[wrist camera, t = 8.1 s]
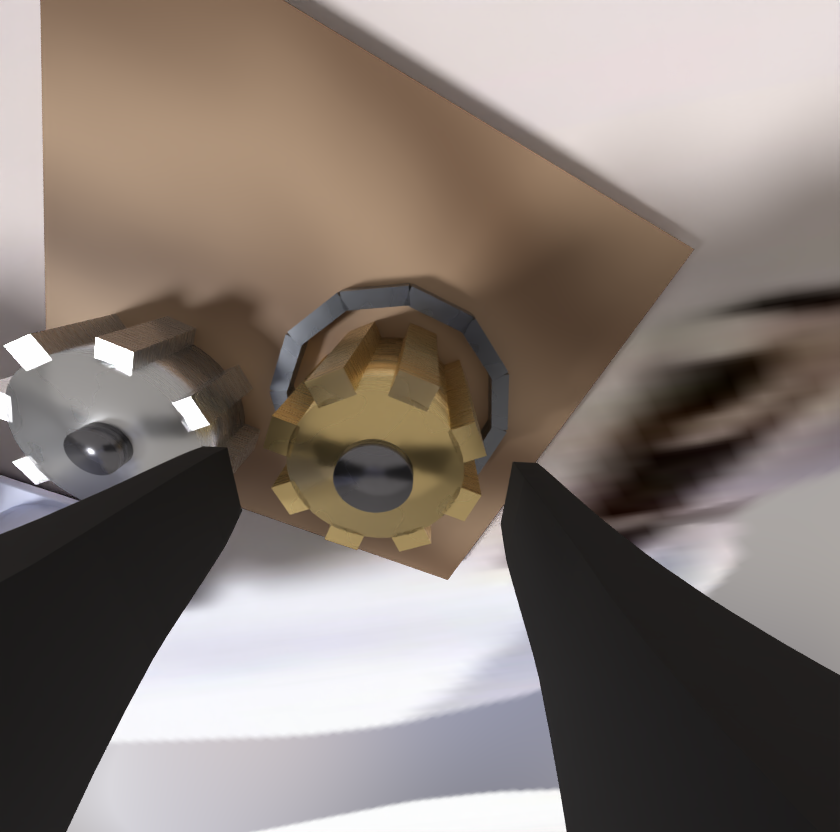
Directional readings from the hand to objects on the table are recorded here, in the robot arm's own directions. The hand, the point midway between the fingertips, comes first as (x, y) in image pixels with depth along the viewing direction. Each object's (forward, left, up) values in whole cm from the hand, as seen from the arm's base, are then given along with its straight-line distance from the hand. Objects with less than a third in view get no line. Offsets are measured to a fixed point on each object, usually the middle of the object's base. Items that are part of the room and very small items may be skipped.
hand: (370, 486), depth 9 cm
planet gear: (0, 0, -5) cm, 5 cm away
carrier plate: (+1, +3, -6) cm, 7 cm away
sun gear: (-4, +8, -5) cm, 10 cm away
